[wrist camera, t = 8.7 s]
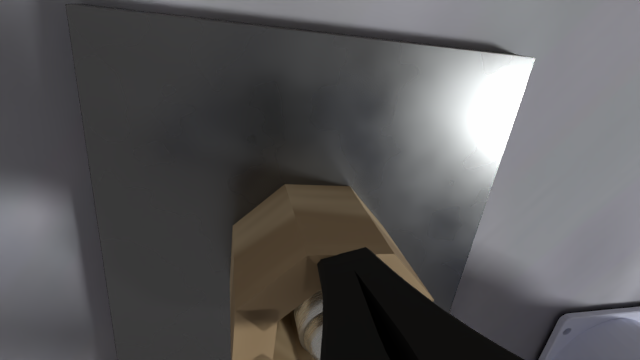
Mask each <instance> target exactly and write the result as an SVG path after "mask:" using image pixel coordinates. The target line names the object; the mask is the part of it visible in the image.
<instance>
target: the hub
mask: <svg viewBox="0 0 640 360" xmlns="http://www.w3.org/2000/svg"><path fill="white" fill-rule="evenodd" d="M65 5H66V11H67V18H68V25H69V32H70V39H71V45H72V52H73V59H74V66H75V73H76V80H77V86H78V93H79V100H80V107H81V114H82V120H83V127H84V134H85V141H86V148H87V154H88V161H89V168H90V175H91V182H92V189H93V195H94V202H95V209H96V216H97V223H98V229H99V236H100V243H101V250H102V257H103V263H104V270H105V277H106V284H107V291H108V298H109V304H110V311H111V318H112V325H113V332H114V338H115V345H116V352H117V359H118V360H231V330H230V267H231V248H232V229H233V225H234V224H235V223H237V222H238V221H239V220H240V219H242V218H243V217H244V216H245V215H247V214H248V213H249V212H250V211H252V210H253V209H254V208H256V207H257V206H258V205H259V204H261V203H262V202H263V201H264V200H266V199H267V198H268V197H269V196H271V195H272V194H273V193H274V192H276V191H277V190H278V189H279V188H281V187H282V186H283V185H284V184H294V185H326V186H350V187H351V188H352V190H353V191H354V192H355V193H356V194H357V196H358V197H359V198H360V199H361V200H362V202H363V203H364V204H365V205H366V206H367V208H368V209H369V210H370V211H371V212H372V214H373V215H374V216H375V217H376V218H377V220H378V221H379V222H380V223H381V224H382V226H383V227H384V228H385V230H386V231H387V233H388V234H389V236H390V237H391V238H392V240H393V241H394V243H395V244H396V246H397V247H398V249H399V250H400V251H401V253H402V254H403V256H404V257H405V259H406V260H407V262H408V263H409V264H410V266H411V267H412V269H413V270H414V272H415V273H416V274H417V276H418V277H419V279H420V280H421V282H422V283H423V285H424V286H425V287H426V289H427V290H428V292H429V293H430V295H431V296H432V298H433V299H434V301H433V302H434V303H435V304H437V305H438V306H439V307H441V308H442V309H444V310H445V311H446V312H448V313H449V311H450V308H451V305H452V302H453V299H454V296H455V293H456V290H457V287H458V284H459V281H460V278H461V275H462V273H463V270H464V267H465V264H466V261H467V258H468V255H469V252H470V249H471V246H472V243H473V240H474V237H475V234H476V231H477V228H478V225H479V222H480V220H481V217H482V214H483V211H484V208H485V205H486V202H487V199H488V196H489V193H490V190H491V187H492V184H493V181H494V178H495V175H496V172H497V170H498V167H499V164H500V161H501V158H502V155H503V152H504V149H505V146H506V143H507V140H508V137H509V134H510V131H511V128H512V125H513V122H514V119H515V117H516V114H517V111H518V108H519V105H520V102H521V99H522V96H523V93H524V90H525V87H526V84H527V81H528V78H529V75H530V72H531V69H532V67H533V64H534V61H535V58H532V57H527V56H522V55H517V54H509V53H500V52H491V51H483V50H474V49H465V48H457V47H448V46H439V45H431V44H422V43H413V42H405V41H396V40H387V39H379V38H370V37H362V36H353V35H344V34H336V33H327V32H318V31H310V30H301V29H292V28H284V27H275V26H266V25H258V24H249V23H240V22H232V21H223V20H214V19H206V18H197V17H188V16H180V15H171V14H162V13H154V12H145V11H136V10H128V9H119V8H110V7H102V6H93V5H85V4H65ZM293 312H294V317H295V322H296V326H297V331H298V335H299V340H300V343H301V345H302V347H303V348H304V349H305V350H306V351H308V352H309V353H310V355H311V356H312V357H313V358H315V359H316V360H320V354H321V341H322V327H323V296H322V290H319V291H318V292H316V293H315V294H314V295H312V296H311V297H310V298H308V299H307V300H306V301H304V302H303V303H302V304H300V305H299V306H298V307H296V308H295V309H294V310H293Z"/></svg>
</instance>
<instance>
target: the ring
mask: <svg viewBox="0 0 640 360" xmlns="http://www.w3.org/2000/svg"><path fill="white" fill-rule="evenodd" d="M364 247H366V248H368V249H370V250H371V251H372V252H373V253H374V254H375V255H376V256H377V257H379V258H380V259H381V260H382V261H383V262H384V263H385V264H386V265H388V266H389V267H390V268H391V269H392V270H393V271H395V272H396V273H397V274H398V275H399V276H401V277H402V278H403V279H404V280H405V281H407V282H408V283H409V284H410V285H412V286H413V287H414V288H416V289H417V290H418V291H419V292H421V293H422V294H423V295H425V296H426V297H427V298H429V299H430V300H431V301H434V299H433V298H432V296H431V295H430V293H429V292H428V290H427V289H426V287H425V286H424V285H423V283H422V282H421V280H420V279H419V277H418V276H417V274H416V273H415V272H414V270H413V269H412V267H411V266H410V264H409V263H408V262H407V260H406V259H405V257H404V256H403V254H402V253H401V251H400V250H399V249H398V247H397V246H396V244H395V243H394V241H393V240H392V238H391V237H390V236H389V234H388V233H387V231H386V230H385V228H384V227H383V226H382V224H381V223H380V222H379V221H378V220H377V218H376V217H375V216H374V215H373V214H372V212H371V211H370V210H369V209H368V208H367V206H366V205H365V204H364V203H363V202H362V200H361V199H360V198H359V197H358V196H357V194H356V193H355V192H354V191H353V190H352V188H351V187H350V186H326V185H294V184H284V185H283V186H282V187H281V188H279V189H278V190H277V191H276V192H274V193H273V194H272V195H271V196H269V197H268V198H267V199H266V200H264V201H263V202H262V203H261V204H259V205H258V206H257V207H256V208H254V209H253V210H252V211H250V212H249V213H248V214H247V215H245V216H244V217H243V218H242V219H240V220H239V221H238V222H237V223H235V224H234V225H233V229H232V248H231V267H230V330H231V360H316V359H315V358H313V357H312V356H311V355H310V353H309V352H308V351H306V350H305V349H304V348H303V347H302V345H301V343H300V340H299V335H298V331H297V326H296V322H295V317H294V312H293V310H294V309H295V308H296V307H298V306H299V305H300V304H302V303H303V302H304V301H306V300H307V299H308V298H310V297H311V296H312V295H314V294H315V293H316V292H318V291H319V290H322V289H321V283H320V278H319V272H318V267H317V263H318V262H319V261H320V260H321V259H324V258H328V257H332V256H336V255H338V254H341V253H345V252H349V251H352V250H356V249H360V248H364Z"/></svg>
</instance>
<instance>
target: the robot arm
mask: <svg viewBox="0 0 640 360" xmlns="http://www.w3.org/2000/svg"><path fill="white" fill-rule="evenodd" d="M317 267H318V272H319V278H320V283H321V289H322V296H323V327H322V341H321V354H320V360H524V359H522V358H520V357H519V356H517V355H515V354H513V353H511V352H510V351H508V350H506V349H504V348H503V347H501V346H499V345H498V344H496V343H494V342H493V341H491V340H489V339H488V338H486V337H484V336H483V335H481V334H479V333H478V332H476V331H475V330H473V329H472V328H470V327H469V326H467V325H465V324H464V323H462V322H461V321H459V320H458V319H457V318H455V317H454V316H452V315H451V314H449V313H448V312H446V311H445V310H444V309H442V308H441V307H439V306H438V305H437V304H435V303H434V302H433V301H431V300H430V299H429V298H427V297H426V296H425V295H423V294H422V293H421V292H419V291H418V290H417V289H416V288H414V287H413V286H412V285H410V284H409V283H408V282H407V281H405V280H404V279H403V278H402V277H401V276H399V275H398V274H397V273H396V272H395V271H393V270H392V269H391V268H390V267H389V266H388V265H386V264H385V263H384V262H383V261H382V260H381V259H380V258H379V257H377V256H376V255H375V254H374V253H373V252H372V251H371V250H370V249H368V248H366V247H364V248H360V249H356V250H352V251H349V252H345V253H341V254H338V255H336V256H332V257H328V258H324V259H321V260H320V261H319V262H318V263H317ZM539 360H640V307H629V308H619V309H608V310H598V311H588V312H577V313H567V314H564V315H563V316H561V317H560V318H559V320H558V322H557V324H556V326H555V328H554V330H553V332H552V334H551V336H550V338H549V340H548V342H547V344H546V346H545V348H544V350H543V352H542V354H541V356H540V358H539Z"/></svg>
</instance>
